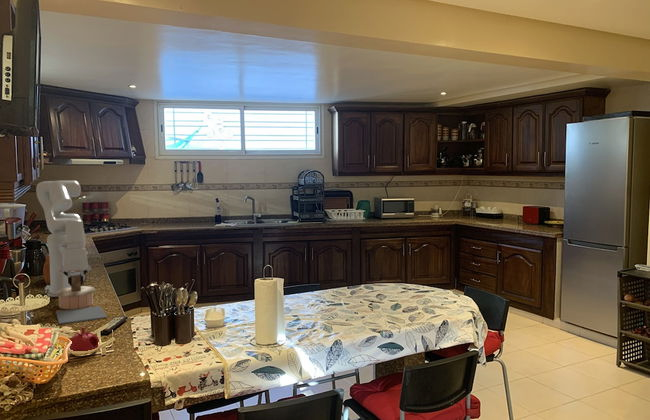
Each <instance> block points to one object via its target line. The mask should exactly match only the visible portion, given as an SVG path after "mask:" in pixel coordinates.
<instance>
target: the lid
mask: <svg viewBox="0 0 650 420" xmlns="http://www.w3.org/2000/svg"><path fill="white" fill-rule="evenodd" d="M71 277H72V285H71V287H69V288H64V289H60V290H58V291H57V295H58V296H81V295H86V294H90V293H93V294H94V292H95V291H96V288H95V287H94V286H88V285H87V286H86V285H85V286H84V285H83V286H82V285H81V279H80V274H74V275H71Z"/></svg>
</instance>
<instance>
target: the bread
mask: <svg viewBox="0 0 650 420" xmlns="http://www.w3.org/2000/svg"><path fill="white" fill-rule="evenodd" d="M42 271H43V280H44V282H45V283H46V284H48V285H50V257H49V253H47V255H46V258H45V262H44V264H43V268H42Z"/></svg>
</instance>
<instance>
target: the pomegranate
mask: <svg viewBox="0 0 650 420" xmlns="http://www.w3.org/2000/svg"><path fill="white" fill-rule="evenodd" d="M80 330H81V332H77V331H74V332H72V334H74V335H73V336H71V337H70V338H69V339H70V340H71V341H72V344H71V346H70V349H71V350H73V351H88V350H92V349H95V348H97V347H98V342H99V343H100V338H99V337H98V336H97V335H96V334H95V333H93V332H96V331H95V330H92V329H91V330H89V331H85V326H81V329H80ZM98 348H99V347H98Z"/></svg>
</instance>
